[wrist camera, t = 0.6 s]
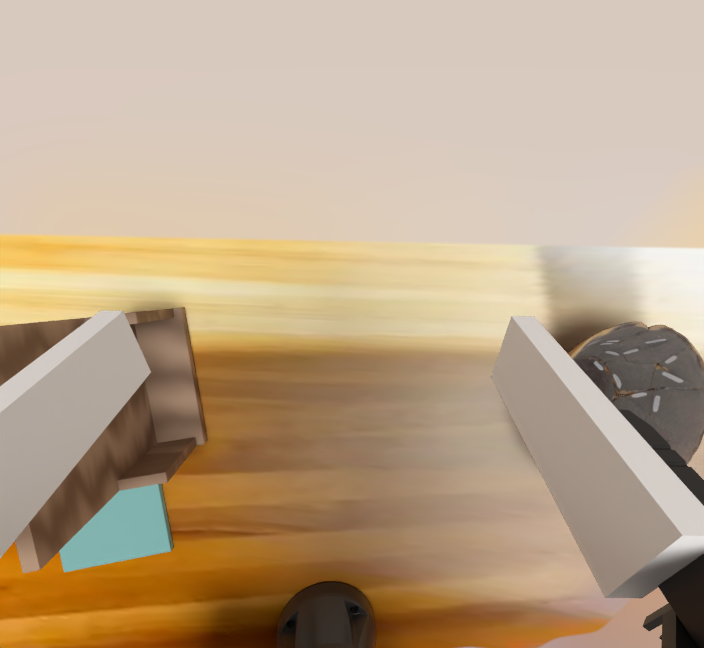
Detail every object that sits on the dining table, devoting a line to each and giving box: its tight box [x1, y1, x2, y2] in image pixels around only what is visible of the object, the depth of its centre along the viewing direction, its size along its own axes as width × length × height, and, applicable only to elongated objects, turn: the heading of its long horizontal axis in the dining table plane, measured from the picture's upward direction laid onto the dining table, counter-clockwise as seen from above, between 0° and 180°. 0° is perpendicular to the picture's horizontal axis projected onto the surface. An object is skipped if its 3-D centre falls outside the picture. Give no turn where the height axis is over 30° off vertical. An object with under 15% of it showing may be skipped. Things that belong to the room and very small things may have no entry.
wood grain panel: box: [0, 308, 207, 573], centre depth 34 cm, size 19×7×20 cm, turn 7°
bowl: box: [568, 322, 704, 464], centre depth 46 cm, size 25×25×10 cm
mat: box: [59, 484, 173, 572], centre depth 44 cm, size 14×14×1 cm
